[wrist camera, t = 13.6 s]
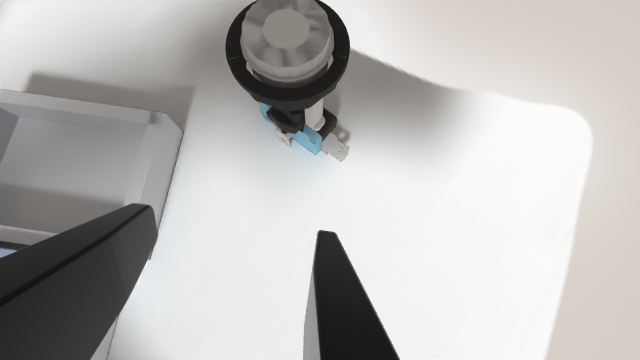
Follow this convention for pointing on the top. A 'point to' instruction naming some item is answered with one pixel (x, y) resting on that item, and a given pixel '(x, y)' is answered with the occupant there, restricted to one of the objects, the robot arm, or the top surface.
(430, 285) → the top surface
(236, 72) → the push button
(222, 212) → the top surface
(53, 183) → the grey tray
